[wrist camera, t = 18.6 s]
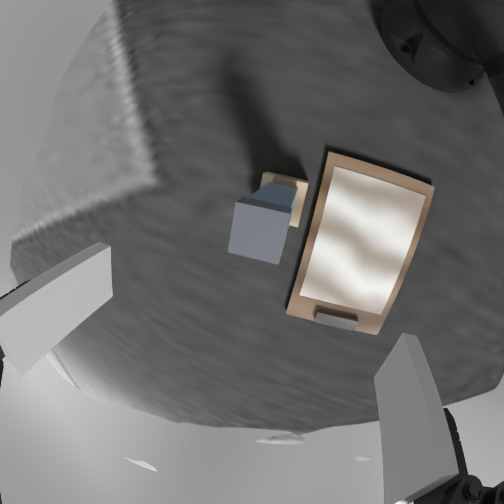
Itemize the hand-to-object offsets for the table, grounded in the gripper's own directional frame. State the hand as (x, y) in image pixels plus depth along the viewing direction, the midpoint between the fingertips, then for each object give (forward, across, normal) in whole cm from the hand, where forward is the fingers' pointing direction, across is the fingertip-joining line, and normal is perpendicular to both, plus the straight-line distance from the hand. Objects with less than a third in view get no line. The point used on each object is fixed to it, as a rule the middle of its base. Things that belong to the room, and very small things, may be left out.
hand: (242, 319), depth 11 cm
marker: (+22, -1, +1) cm, 22 cm away
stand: (+24, -1, +1) cm, 24 cm away
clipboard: (+24, +10, -4) cm, 26 cm away
